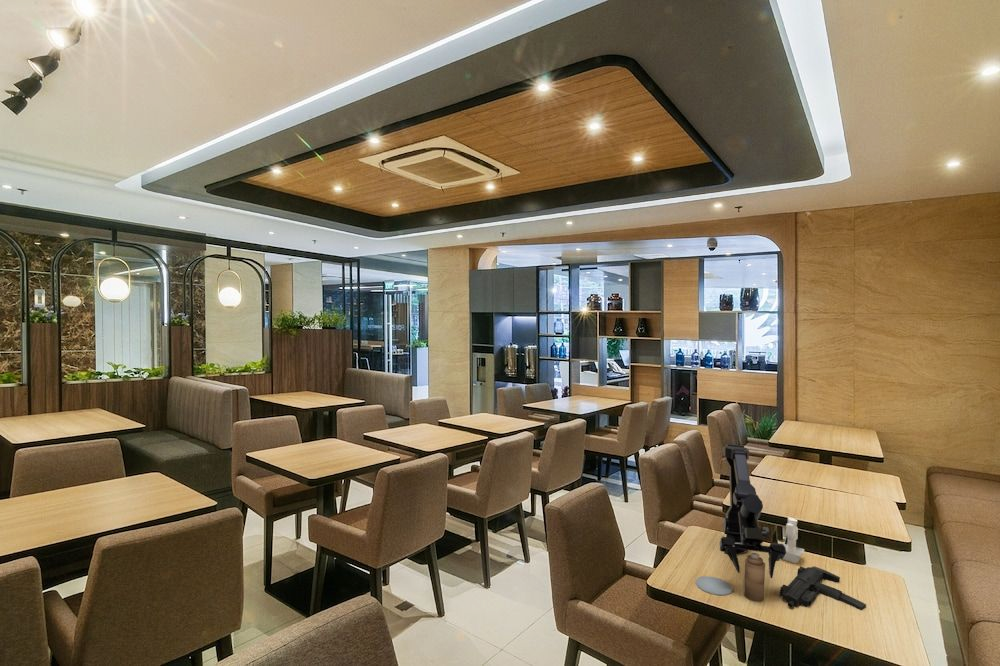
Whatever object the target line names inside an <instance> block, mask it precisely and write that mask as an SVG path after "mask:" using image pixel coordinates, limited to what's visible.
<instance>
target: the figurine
mask: <svg viewBox="0 0 1000 666" xmlns="http://www.w3.org/2000/svg"><path fill="white" fill-rule="evenodd" d="M797 525H798V520H797V519H796V518H793V517H787V523H786V524H785V536H786V538H787V543H782V544H783V545H784V546H785V548H786V554H785V556H784V558H783V559H782V560H783V561H786V562H789V563H791V564H792V563H793V564H796V565H797V564H798V562H799V561H800V559H801V557H802V556H803V554H804V551H805V550H806V549H804V548H801V547H797V540H798V539H799V537H798V536H799V535H798V534H799V528H798V526H797Z"/></svg>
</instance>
